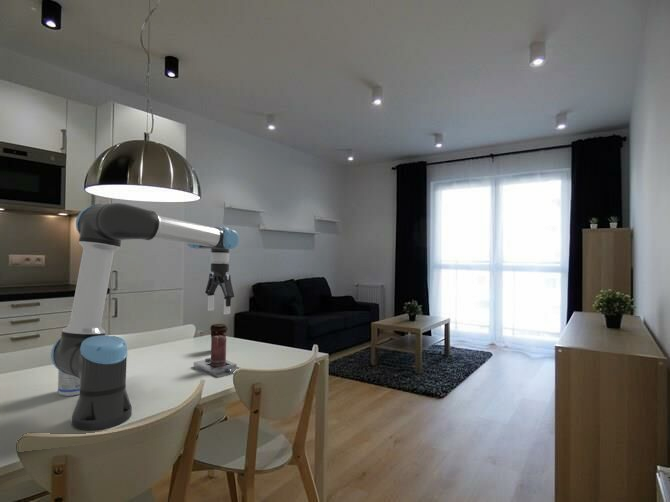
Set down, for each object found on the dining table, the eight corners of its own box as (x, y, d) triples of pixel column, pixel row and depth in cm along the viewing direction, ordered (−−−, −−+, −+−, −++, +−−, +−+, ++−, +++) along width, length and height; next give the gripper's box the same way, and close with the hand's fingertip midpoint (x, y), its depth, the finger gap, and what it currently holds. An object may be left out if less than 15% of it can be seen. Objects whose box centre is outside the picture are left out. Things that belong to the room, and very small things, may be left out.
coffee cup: (205, 351, 194) (206, 325, 194) (215, 348, 202) (216, 322, 202) (220, 353, 192) (221, 326, 192) (230, 349, 200) (230, 324, 200)
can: (210, 371, 162) (211, 337, 163) (210, 367, 169) (211, 334, 169) (225, 370, 164) (226, 337, 164) (225, 366, 170) (226, 334, 170)
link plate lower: (217, 377, 155) (217, 373, 155) (199, 369, 165) (199, 365, 165) (243, 371, 164) (243, 367, 164) (225, 364, 174) (225, 360, 174)
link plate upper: (210, 374, 159) (210, 368, 159) (193, 366, 169) (193, 360, 169) (236, 368, 167) (236, 362, 167) (218, 361, 177) (218, 355, 177)
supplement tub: (68, 387, 141) (69, 346, 141) (95, 387, 141) (97, 346, 142) (51, 397, 131) (52, 353, 131) (81, 396, 132) (82, 352, 132)
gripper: (243, 263, 163) (242, 314, 163) (213, 262, 181) (212, 308, 180) (227, 263, 158) (225, 316, 157) (198, 261, 175) (196, 309, 175)
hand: (218, 312), depth 169 cm, fingers open, 13 cm apart
